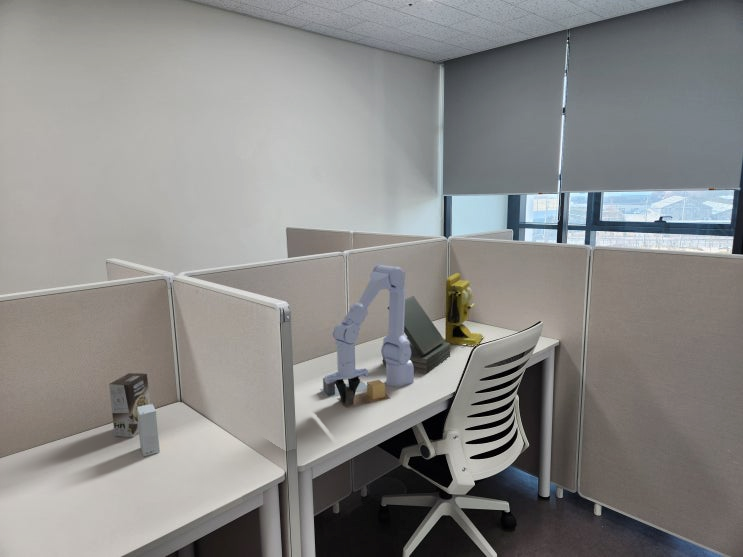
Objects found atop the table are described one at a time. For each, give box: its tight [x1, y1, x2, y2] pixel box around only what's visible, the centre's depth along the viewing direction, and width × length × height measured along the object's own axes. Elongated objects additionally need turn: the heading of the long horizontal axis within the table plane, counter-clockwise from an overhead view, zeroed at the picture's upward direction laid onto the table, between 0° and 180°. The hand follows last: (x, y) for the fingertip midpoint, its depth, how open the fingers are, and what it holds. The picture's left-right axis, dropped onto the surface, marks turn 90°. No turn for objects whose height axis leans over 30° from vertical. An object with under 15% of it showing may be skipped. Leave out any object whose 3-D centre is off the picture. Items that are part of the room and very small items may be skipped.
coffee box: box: [108, 372, 151, 438], centre depth 144 cm, size 9×6×16 cm
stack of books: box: [381, 295, 451, 375], centre depth 198 cm, size 23×20×25 cm
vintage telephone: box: [444, 272, 484, 348], centre depth 222 cm, size 31×14×30 cm, turn 155°
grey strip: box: [319, 377, 367, 399], centre depth 170 cm, size 16×8×5 cm, turn 116°
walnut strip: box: [336, 386, 391, 409], centre depth 162 cm, size 16×8×5 cm, turn 116°
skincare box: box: [137, 403, 161, 457], centre depth 133 cm, size 6×4×12 cm
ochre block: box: [366, 379, 386, 400], centre depth 164 cm, size 4×4×4 cm
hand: (347, 399), depth 160 cm, fingers closed on walnut strip, 2 cm apart
